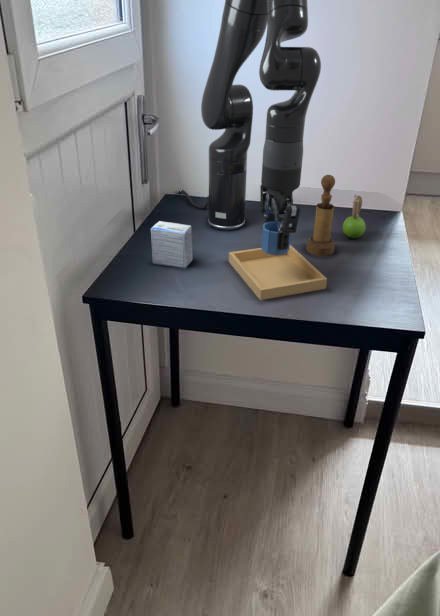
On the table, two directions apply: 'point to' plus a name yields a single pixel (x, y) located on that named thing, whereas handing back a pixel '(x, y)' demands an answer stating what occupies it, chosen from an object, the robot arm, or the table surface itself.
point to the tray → (276, 273)
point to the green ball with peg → (354, 221)
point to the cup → (272, 239)
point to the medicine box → (171, 244)
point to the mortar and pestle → (323, 222)
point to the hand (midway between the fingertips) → (275, 242)
